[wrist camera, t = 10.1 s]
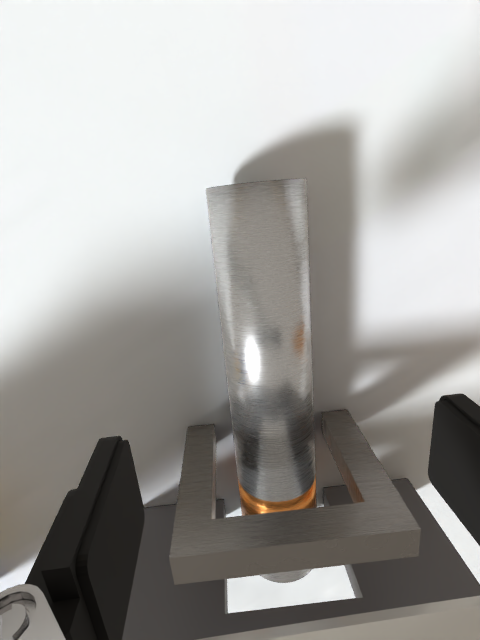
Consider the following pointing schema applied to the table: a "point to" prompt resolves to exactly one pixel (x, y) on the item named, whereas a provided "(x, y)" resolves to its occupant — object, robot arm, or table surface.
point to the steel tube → (267, 342)
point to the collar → (289, 517)
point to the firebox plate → (214, 620)
